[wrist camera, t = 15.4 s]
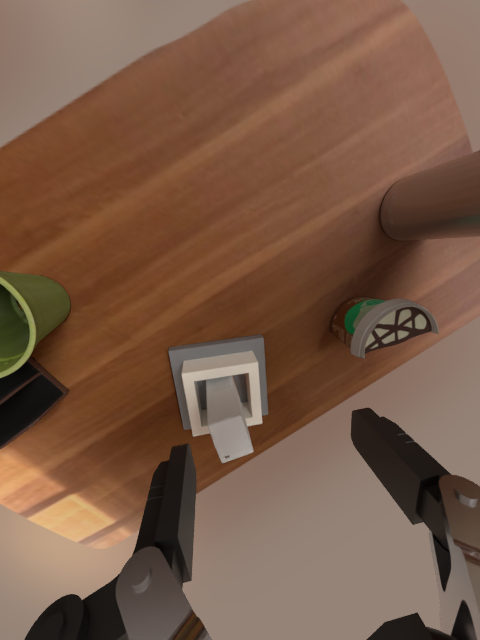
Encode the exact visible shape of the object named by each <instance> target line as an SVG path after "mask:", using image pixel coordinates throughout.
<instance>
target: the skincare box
mask: <svg viewBox="0 0 480 640" xmlns="http://www.w3.org/2000/svg"><path fill="white" fill-rule="evenodd" d="M206 398H207V426H208V429H209V432H210V434H211V437H212V439H213V443H214V446H215V448H216V450H217V452H218V455H219V457H220V460H221V462H222V463H225V462H228V461H231V460H233V459H236V458H239V457H242V456H245V455H247V454H250V453H252V452H253V451H254V450H253V447H252V443H251V439H250V435H249V431H248V427H247V424H246V420H245V416H244V412H243V408H242V405H241V401H240V397H239V394H238V391H237V388H236V385H235V382H234V379H233V376H232V375H231V376H225V377H219V378H213V379H206Z"/></svg>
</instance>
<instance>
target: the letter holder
mask: <svg viewBox="0 0 480 640" xmlns="http://www.w3.org/2000/svg"><path fill="white" fill-rule="evenodd" d="M68 392H69V390H68V389H67V388H66V387H64V386H63V385H62V384H61V383H60V382H59V381H58V380H57V379H55V378H54V377H53V376H52V375H51V374H50V373H49V372H47V371H46V370H45V369H44V368H43V367H42V366H41V365H40V364H38V363H37V362H36V361H35V360H34V359H33V358H32V357H31V356H30V357H29V358H28V360H27V361H26V362H25V363H24V364H23V365H22V366H21V367H20V368H19V369H17V370H16V371H14V372H13V373H11V374H9V375H7V376H5V377H2V378H0V449H2V448H3V447H5V446H6V445H7V444H9V443H10V442H12V441H13V440H14V439H16V438H17V437H18V436H20V435H21V434H22V433H24V432H25V431H27V430H28V429H29V428H31V427H32V426H33V425H35V424H36V423H37V422H38V421H39V420H40V419H41V418H42V417H43V416H44V415H45V414H46V413H47V412H48V411H50V409H52V408H53V407H54V406H55V405H56V404H57V403H58V402H59V401H60V400H61V399H62V398H63V397H64V396H65V395H66V394H67V393H68Z"/></svg>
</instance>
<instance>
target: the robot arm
mask: <svg viewBox="0 0 480 640" xmlns="http://www.w3.org/2000/svg"><path fill="white" fill-rule="evenodd" d="M381 224H382V227H383V229H384V231H385V232H386V234H387V235H388V236H389V237H391V238H392V239H395V240H399V241H406V240H426V239H444V238H461V237H478V236H480V150H479V151H476V152H473V153H471V154H468V155H465V156H462V157H460V158H457V159H454V160H452V161H449V162H446V163H443V164H441V165H438V166H435V167H433V168H430V169H427V170H424V171H422V172H419V173H416V174H413V175H411V176H408V177H405V178H403V179H401V180H399V181H397V182H396V183H395V184H394V185H393V186H392V187H391V188H390V189H389V191H388V192H387V194H386V196H385V197H384V200H383V203H382V206H381ZM351 421H352V422H351V438H352V441H353V444H354V446H355V448H356V449H357V451H358V452H359V453H360V455H361V456H362V457H363V459H364V460H365V461H366V463H367V464H368V465H369V467H370V468H371V469H372V471H373V472H374V473H375V475H376V476H377V477H378V479H379V480H380V481H381V483H382V484H383V485H384V487H385V488H386V489H387V491H388V492H389V493H390V495H391V496H392V498H393V499H394V500H395V502H396V503H397V504H398V506H399V507H400V508H401V510H402V511H403V512H404V514H405V515H406V516H407V518H408V519H409V520H410V522H411V523H412V524H413V525H414V524H418V523H421V522H424V523H425V524H426V525H427V527H428V528H429V539H430V544H431V550H432V556H433V562H434V568H435V574H436V580H437V585H438V591H439V599H440V626H441V631H439V630H436V629H433V628H429V627H425V625H424V623H423V622H422V620H421V618H420V616H419V614H418V613H414V614H411V615H408V616H404V617H401V618H398V619H394V620H391V621H387V622H385V623H384V624H383V625H382V626H380V627H379V628H378V629H377V630H376V631H375V632H374V633H373V634H372V635H371V636H370V637H369V638H368V639H367V640H480V486H478V485H477V484H475V483H474V482H472V481H470V480H468V479H466V478H464V477H460V476H457V475H451V474H450V473H449V472H448V471H447V470H446V469H444V467H442V466H441V465H440V464H439V463H438V462H437V461H436V460H435V459H434V458H433V457H431V455H429V454H428V453H427V452H426V451H425V450H424V449H422V447H421V446H419V444H417V443H416V442H414V440H413V439H412V438H411V437H410V436H409V435H407V434H406V433H405V432H404V431H403V430H402V429H401V428H400V427H399V426H398V425H397V424H396V423H394V422H392V421H390V420H388V419H387V418H385V417H379V416H378V415H377V414H376V413H375V412H374V411H373V410H372V409H370V408H364V409H359V410H354V411H352V420H351ZM195 499H196V470H195V465H194V461H193V456H192V452H191V448H190V445H189V443H188V444H183V445H178V446H173V447H172V449H171V454H170V459H169V461H165V462H161V463H160V464H159V466H158V468H157V469H156V471H155V472H154V474H153V478H152V482H151V486H150V490H149V494H148V501H147V502H146V506H145V510H144V515H143V519H142V523H141V527H140V531H139V535H138V539H137V543H136V547H135V550H134V552H133V555H132V557H131V558H130V559H129V560H128V561H127V563H126V564H125V565H124V567H123V569H122V571H121V573H120V574H119V575H118V576H117V577H116V578H114V579H113V580H112V581H111V582H110V583H108V584H106V585H105V586H103V587H102V588H100V589H99V590H97V591H96V592H94V593H92V594H91V595H89V596H88V597H86V598H85V599H83V600H81V598H80V597H79V596H78V595H75V594H70V595H66V596H64V597H61V598H60V599H58V600H56V601H55V602H54V603H52V604H51V605H50V606H49V607H48V608H47V609H46V610H45V611H44V612H43V613H42V614H41V615H40V616H39V618H38V619H37V621H35V623H34V624H33V626H32V627H31V629H30V631H29V632H28V634H27V636H26V638H25V640H212V639H211V637H210V636H209V634H208V632H207V630H206V629H205V627H204V625H203V623H202V622H201V620H200V619H199V618H198V617H197V616H196V614H195V613H194V611H193V609H192V608H191V606H190V604H189V602H188V600H187V598H186V596H185V594H184V593H183V591H182V586H183V583H184V582H188V581H191V577H192V557H193V538H194V519H195Z"/></svg>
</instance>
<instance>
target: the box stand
mask: <svg viewBox="0 0 480 640" xmlns="http://www.w3.org/2000/svg"><path fill="white" fill-rule="evenodd" d="M168 352H169V357H170V362H171V367H172V372H173V377H174V382H175V387H176V392H177V397H178V402H179V408H180V413H181V418H182V423H183V428H184V430H188V429H192V434H193V437H194V436H199V435H204V434H210V432H209V429H208V426H207V398H206V379H213V378H219V377H225V376H231V375H232V376H233V379H234V382H235V385H236V388H237V391H238V394H239V397H240V401H241V405H242V408H243V412H244V416H245V420H246V424H247V426H252V425H257V424H262V416H263V415H268V403H267V386H266V369H265V352H264V337H263V336H262V335H254V336H247V337H240V338H232V339H225V340H218V341H211V342H204V343H197V344H189V345H182V346H175V347H170V348H169V351H168Z"/></svg>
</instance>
